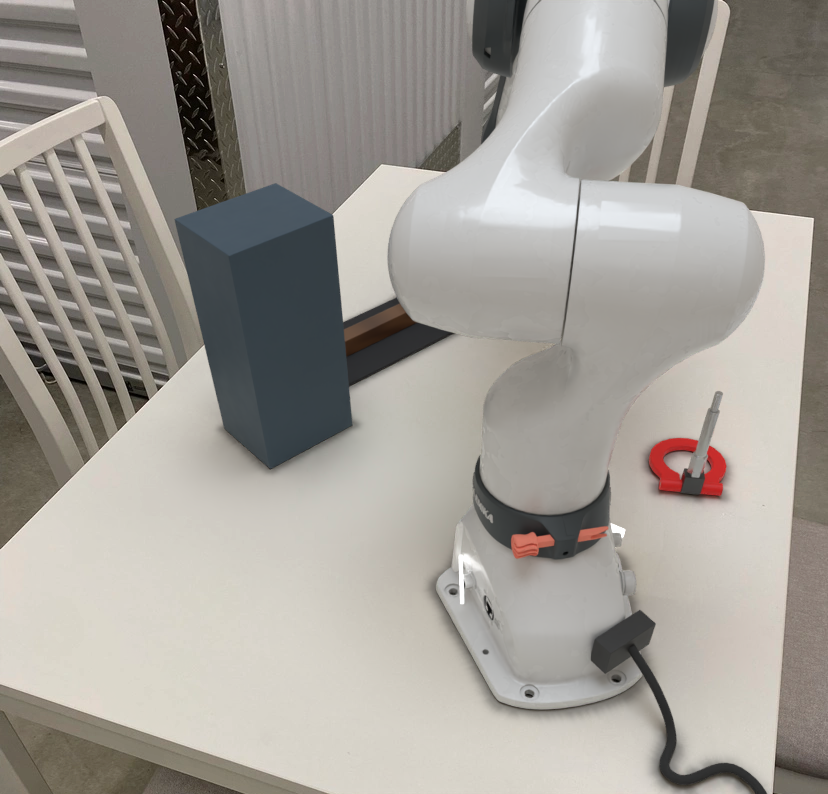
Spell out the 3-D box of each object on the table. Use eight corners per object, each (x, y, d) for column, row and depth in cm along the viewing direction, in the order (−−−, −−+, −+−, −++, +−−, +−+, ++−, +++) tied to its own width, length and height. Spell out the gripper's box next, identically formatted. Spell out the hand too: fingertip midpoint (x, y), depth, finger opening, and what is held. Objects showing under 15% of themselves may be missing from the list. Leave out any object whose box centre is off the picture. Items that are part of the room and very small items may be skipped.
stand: (304, 388, 104) (275, 182, 85) (352, 425, 99) (333, 214, 80) (223, 428, 99) (173, 218, 80) (270, 469, 94) (228, 255, 75)
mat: (399, 298, 118) (399, 296, 118) (455, 332, 112) (455, 329, 112) (285, 351, 110) (285, 348, 110) (339, 391, 104) (339, 388, 103)
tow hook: (646, 442, 96) (650, 493, 90) (670, 345, 87) (676, 393, 81) (719, 448, 95) (728, 500, 89) (751, 351, 86) (764, 400, 80)
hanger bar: (430, 304, 117) (430, 263, 112) (441, 311, 115) (441, 270, 111) (304, 364, 107) (298, 322, 102) (315, 372, 106) (310, 330, 101)
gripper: (443, 200, 120) (369, 230, 114) (545, 250, 109) (470, 286, 103) (442, 241, 124) (372, 272, 119) (541, 293, 114) (469, 330, 108)
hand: (418, 279), depth 111 cm, fingers open, 8 cm apart
